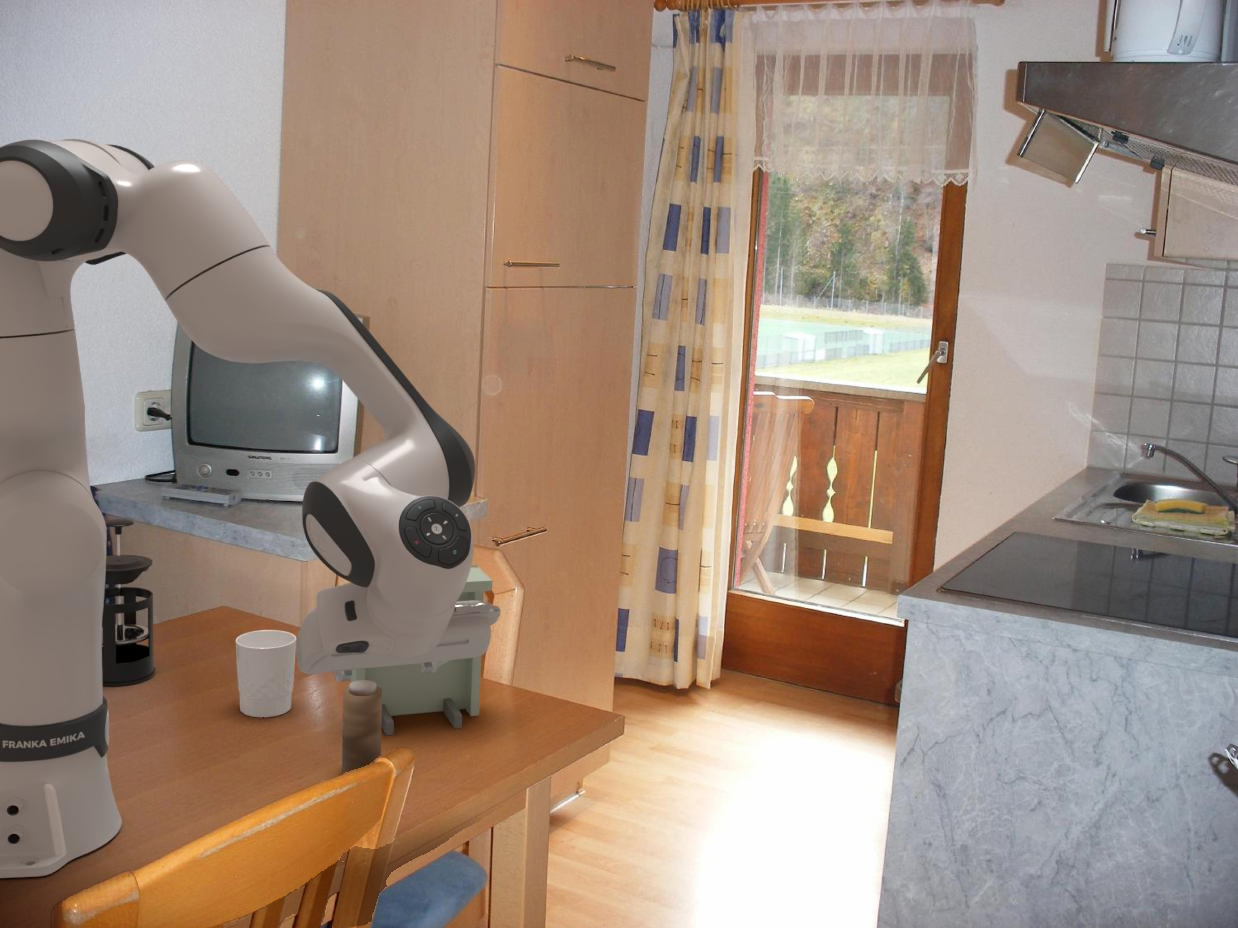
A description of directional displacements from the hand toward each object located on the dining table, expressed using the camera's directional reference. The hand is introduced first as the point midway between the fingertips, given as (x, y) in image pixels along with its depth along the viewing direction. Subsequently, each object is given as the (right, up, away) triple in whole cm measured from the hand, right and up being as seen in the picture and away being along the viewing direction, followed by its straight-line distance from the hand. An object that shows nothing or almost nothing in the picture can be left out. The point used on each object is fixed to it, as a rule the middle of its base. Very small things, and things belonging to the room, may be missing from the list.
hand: (385, 671), depth 130 cm
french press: (-47, -8, +40) cm, 62 cm away
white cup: (-23, -11, +31) cm, 40 cm away
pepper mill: (-6, -14, +14) cm, 21 cm away
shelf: (-1, -12, +29) cm, 32 cm away
